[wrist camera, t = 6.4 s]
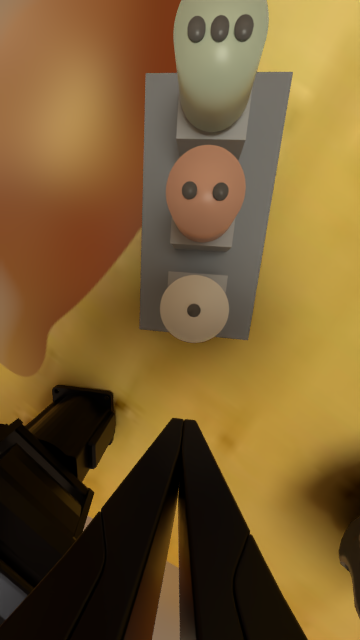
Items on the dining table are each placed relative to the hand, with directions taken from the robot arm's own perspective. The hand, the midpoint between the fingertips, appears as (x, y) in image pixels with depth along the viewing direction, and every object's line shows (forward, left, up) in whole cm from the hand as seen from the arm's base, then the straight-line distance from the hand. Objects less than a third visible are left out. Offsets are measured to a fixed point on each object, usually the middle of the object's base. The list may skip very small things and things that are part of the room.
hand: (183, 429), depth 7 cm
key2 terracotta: (0, +9, -9) cm, 13 cm away
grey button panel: (0, +9, -11) cm, 15 cm away
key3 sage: (0, +15, -9) cm, 17 cm away
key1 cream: (0, +4, -9) cm, 10 cm away
